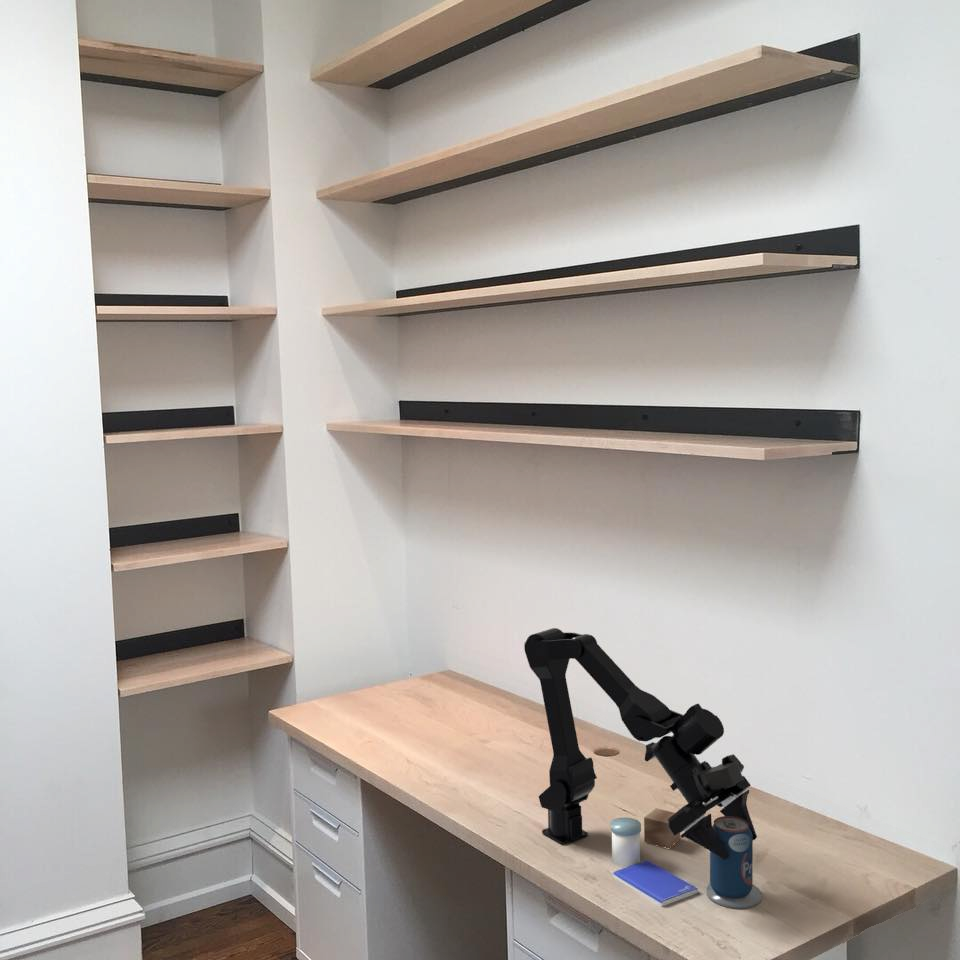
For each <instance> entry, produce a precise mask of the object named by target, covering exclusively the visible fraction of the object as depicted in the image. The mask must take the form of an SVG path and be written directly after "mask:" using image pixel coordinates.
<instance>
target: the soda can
mask: <svg viewBox="0 0 960 960" xmlns="http://www.w3.org/2000/svg"><path fill="white" fill-rule="evenodd" d="M712 827H713V829H714V830H715V832H716V833H717V835H718V837H719V838H720V840H721V841H722V843H723V845H724V846H725V848H726V850H727V852H728V853H729V855H730V857H729V858H727V859H726V860H724V859H722V858H721V857H719V856H718V855H716V854H714V853H713V852H711V851H709V884H710V885H711V887H712V889H713V890H714V892H715V894H716V895H718V896H719V897H721V898H724V899H728V900H741V899H744V898H746V897H747V896H748V894H749V893H750V891H751V890H752V887H753V885H754V883H753V879H754V876H753V873H754V870H753V867H754V866H753V861H754V860H753V855H754V854H753V853H754V849H753V848H754V845H753V844H754V843H753V841H754V840H753V834H752V832H751V830H750V828H749V823H748V822H747V821H746V820H744V819H742V818H739V817H734V816H724V815H722V816H719V817H717V818H715V819H714V821H713V824H712Z"/></svg>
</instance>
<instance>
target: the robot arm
mask: <svg viewBox="0 0 960 960" xmlns="http://www.w3.org/2000/svg"><path fill="white" fill-rule="evenodd" d="M523 645H524V646H523V647H524V648H523V649H524V653H525V656H526V659H527V663H528V666H529V668H530V669H531V671H532V672H533V674H535V676H536V677H537V678H538V680H539V683H540V686H541V687H540V688H541V693H542V699H543V704H544V709H545V714H546V720H547V721H546V722H547V726H548V730H549V736H550V737H549V738H550V741H551V748H552V752H553V756H552V760H551V763H550V768H549V771H548V772H549V773H548V774H549V786H548V787H547V788H546V789H545V790H543V791H542V793H541V794H539V795H538V800H539V803H540V807H541V808H542V809H546V810H547V821H548V822H547V826H548V827H547V828H544V829H542V830H541V833H542V835H545V836H546V837H548V838H550V839H552V840H553V841H555V842H558V843H559V844H561V845H565V844H568V843H571V842H574V841H576V840H580V839H583V838H585V837H588V835H589V833H588V832H587V831H585V830H584V829H583V815H582V805H580V803H582V802H584V801H587V800H588V798H589V796H590V794H591V792H592V791H593V789H594V788H595V786H596V785H595V784H596V781H595V780H596V779H598V777H597V774H596V773H595V768H594V760H593V758H592V757H586V756H585V755H584V754H583V752H582V751H581V749H580V746H579V742H578V737H577V731H576V725H575V720H574V715H573V714H574V713H573V707H572V704H571V698H570V694H569V688H568V682H567V676H566V675H567V674H566V673H567V670H568V667H569V664H570V663H569V662H570V659H574V660H575V661H577V662H578V664H579V665H580V666H581V667H582V668H583V669H584V670H585V671H586V673H587V674H588V675H589V676H590V677H591V678H592V680H594V681H595V683H597V685H598V686H599V687H600V688H601V689H602V690H603V692H605V693H606V695H607V696H608V697H609V699H611V700H612V701H613V703H614V704H615V705H616V707H617V709H618V711H619V714H620V719H621V721H622V723H623V724H624V726H625V727H626V729H627V730H628V732H629V733H630V735H631V736H632V737H633V738H634V740H636V741H639V742H649V741H651V740H654V739H659V740H658V741H657V742H653V741H652V742H649V743H648V744H646V745H645V754H644V761H645V762H649V761H651V760H653V759H655V758H656V760H657V762H658V763H659V764H660V765H661V767H662V768H663V770H664V772H666V774H667V775H668V777H669V778H670V779H671V781H672V782H673V783H671V784H670V785H669V787H670V789H672V791H673V792H674V791H676V790H677V789H678V791H679V792H680V794H681V795H682V796H683V798H684V799H685V801H686V802H687V804H685V805H684V806H682V807H681V808H679V810H677V811H676V812H674V813H675V814H674V815H672V816H671V817H670V818H669V819H668V827H669V829H670V830H671V832H672V833H673V835H674V836H676V835H678V834H679V833H680V838H681V839H683V838H686V839H688V840H689V841H692V842H693V843H695V844H698V845H699V846H701V847H702V848H705V849H707V850H708V851H709V852H710V851H711V852H713V853H714V854H716V855H718V856H719V857H721V858H722V859H724V860H726V859H727V858H729V857H730V855H729V853H728V852H727V850H726V848H725V846H724V845H723V843H722V841H721V840H720V838H719V837H718V835H717V833H716V832H715V830H714V829H713V827H712V826H713V824H712V823H713V822H712V813H708V814H707V815H706V813H707V812H708V811H710V810H712V809H713V808H715V807H716V806H718V807H719V808H721V810H719V812H720V813H721V814H722V816H734V817H739V818H742V819H744V820H746V821H747V822H748V823H749V828H750V830H751V832H752V834H753V841H756V839H757V838H758V835H757V832H756V830H755V826H754V823H753V821H752V819H751V815H750V813H749V810H748V807H747V802H748V795H749V794H750V789H749V788H750V787H751V783H750V782H749V781H748V779H747V778H746V776H744V775H743V774H742V772H743V770H744V769H745V767H744V764H743V763H742V762H741V761H740V760H739V758H737V756H736V754H734V753H732V754H729V755H726V756H724V757H723V758H722V759H721V764H718V765H715V766H711V765H710V763H709V762H708V761H706V760H704V761H702V762H700V761H699V759H698V758H697V756H698V755H701V754H703V753H704V752H705V751H706V750H708V748H710V747H711V746H712V745H713V744H715V743H716V742H717V741H718V740H720V738H722V737H723V735H724V733H725V728H724V725H723V723H722V721H721V719H720V718H719V717H718V716H717V715H715V714H714V713H713V711H710V710H709V709H706V708H702V706H701V705H700V703H695V704H693V705H692V706H690V707H689V708H688V709H687V710H686V712H685V713H684V714H682V713H679V712H677V711H674V710H671V709H670V708H669V707H668V706H667V705H666V704H665V703H663V702H662V701H661V700H660V699H659V698H657V697H656V695H653V694H652V693H649V692H648V691H645V690H642V689H641V688H639V687H638V686H637V685H636V684H635V683H634V682H633V681H632V679H630V677H628V675H627V674H626V673H625V672H624V671H623V670H622V669H621V668H620V667H619V666H618V665H617V663H615V661H614V660H613V659H612V658H611V657H610V656H609V655H608V654H607V653H606V652H605V650H604V649H603V648H602V647H601V646H600V645H599V644H598V641H597V639H596V637H594V636H593V635H592V634H587V633H584V634H582V633H581V634H580V633H577V632H563V631H562V630H561V629H559V628H557V627H553V628H550V629H546V630H543V631H539V632H536V633H533V634H530V635H528V637H527V639H526V640H525V641H524V644H523ZM671 733H672V735H668V734H671ZM696 755H697V756H696ZM747 789H748V790H747ZM722 807H723V808H722ZM682 832H683V833H682Z"/></svg>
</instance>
